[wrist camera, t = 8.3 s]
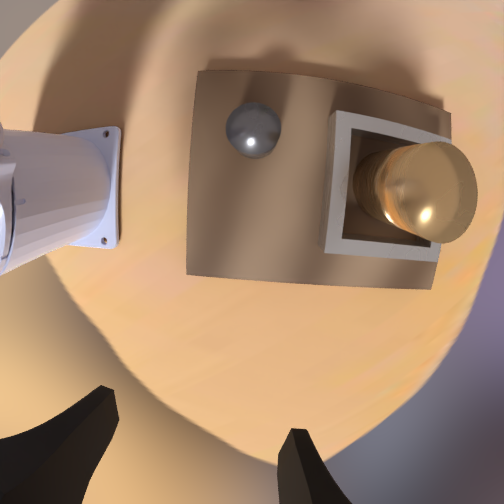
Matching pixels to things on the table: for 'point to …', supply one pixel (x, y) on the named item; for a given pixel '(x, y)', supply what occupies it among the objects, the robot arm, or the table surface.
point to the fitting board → (299, 181)
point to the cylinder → (419, 189)
